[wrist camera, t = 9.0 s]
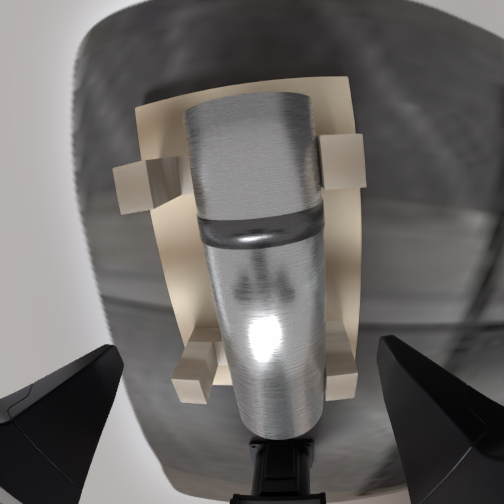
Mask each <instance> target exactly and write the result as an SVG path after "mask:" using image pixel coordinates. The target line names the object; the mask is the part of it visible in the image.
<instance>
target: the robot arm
mask: <svg viewBox="0 0 504 504" xmlns="http://www.w3.org/2000/svg"><path fill="white" fill-rule="evenodd" d="M377 365H378V370H379V375H380V380H381V385H382V391H383V396H384V401H385V405H386V408H387V412H388V415H389V418H390V422H391V425H392V429H393V432H394V436H395V439H396V443H397V446H398V450H399V454H400V458H401V462H402V466H403V470H404V474H405V478H406V482H407V487H408V491H409V495H410V500H411V504H504V406H502V405H500V404H498V403H497V402H495V401H493V400H491V399H489V398H488V397H486V396H485V395H483V394H481V393H480V392H478V391H477V390H475V389H474V388H472V387H471V386H469V385H467V384H466V383H465V382H463V381H462V380H460V379H459V378H457V377H456V376H454V375H453V374H451V373H450V372H448V371H447V370H445V369H444V368H442V367H441V366H439V365H438V364H436V363H435V362H433V361H432V360H430V359H429V358H427V357H426V356H424V355H423V354H421V353H420V352H418V351H417V350H415V349H414V348H412V347H411V346H409V345H408V344H406V343H405V342H403V341H402V340H400V339H399V338H397V337H396V336H394V335H385V336H381V337H380V340H379V346H378V352H377ZM123 368H124V364H123V361H122V358H121V356H120V354H119V352H118V350H117V348H116V346H114V345H109V344H105V345H103V346H101V347H99V348H97V349H95V350H94V351H92V352H90V353H88V354H86V355H84V356H83V357H81V358H79V359H77V360H75V361H73V362H71V363H70V364H68V365H66V366H64V367H62V368H60V369H58V370H57V371H55V372H53V373H51V374H49V375H47V376H45V377H44V378H42V379H40V380H38V381H36V382H35V383H34V384H33V383H32V384H30V385H28V386H27V387H25V388H23V389H21V390H19V391H17V392H15V393H12V394H10V395H8V396H6V397H4V398H1V399H0V504H78V503H79V500H80V497H81V493H82V489H83V486H84V483H85V480H86V477H87V474H88V471H89V468H90V465H91V462H92V459H93V456H94V453H95V450H96V447H97V445H98V442H99V439H100V436H101V434H102V431H103V428H104V426H105V423H106V420H107V418H108V415H109V413H110V410H111V407H112V405H113V402H114V399H115V396H116V392H117V389H118V385H119V382H120V378H121V375H122V372H123ZM249 449H250V452H251V456H252V459H253V463H254V466H255V468H254V477H253V485H252V493H251V495H240V494H234V495H233V498H232V499H230V504H326V496H325V492H322V493H319V494H310V468H312V462H313V449H314V441H313V440H296V441H253V442H250V443H249Z"/></svg>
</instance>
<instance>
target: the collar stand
mask: <svg viewBox="0 0 504 504" xmlns="http://www.w3.org/2000/svg"><path fill="white" fill-rule="evenodd" d="M256 92H293V93H300V94H304V95H307V96H310V97H311V99H312V106H313V114H314V121H315V130H316V138H317V147H318V157H319V167H320V178H321V190H322V198H323V200H324V216H325V227H324V239H325V265H326V356H325V382H324V392H325V400H326V401H332V400H340V399H348V398H354V396H355V390H356V384H357V377H358V371H357V367H356V363H355V355H356V345H357V334H358V322H359V308H360V288H361V198H360V188H364V187H366V172H365V158H364V146H363V136H362V134H356V132H355V123H354V115H353V107H352V100H351V93H350V87H349V81H348V77H345V76H339V77H305V78H290V79H278V80H268V81H259V82H251V83H244V84H237V85H231V86H225V87H219V88H214V89H208V90H203V91H199V92H194V93H189V94H185V95H181V96H176V97H172V98H168V99H165V100H161V101H157V102H153V103H150V104H146V105H143V106H140V107H136V108H135V113H136V122H137V130H138V138H139V146H140V153H141V160H142V161H139V162H135V163H131V164H127V165H123V166H119V167H115V168H113V174H114V180H115V186H116V191H117V197H118V202H119V207H120V212H121V215H122V214H128V213H134V212H140V211H146V210H150V212H151V217H152V222H153V227H154V231H155V236H156V241H157V245H158V250H159V254H160V258H161V263H162V267H163V271H164V275H165V279H166V283H167V287H168V290H169V294H170V298H171V302H172V305H173V309H174V313H175V316H176V320H177V323H178V326H179V330H180V333H181V336H182V340H183V343H184V346H185V349H184V352H183V354H182V356H181V358H180V360H179V363H178V365H177V367H176V369H175V371H174V374H173V376H172V378H171V380H172V382H173V385H174V387H175V389H176V392H177V394H178V396H179V399H180V401H181V402H184V403H198V404H207V402H208V399H209V395H210V392H211V388H212V385H233V384H232V380H231V376H230V372H229V368H228V363H227V359H226V355H225V350H224V346H223V342H222V337H221V333H220V328H219V324H218V319H217V314H216V310H215V305H214V300H213V295H212V290H211V285H210V280H209V275H208V270H207V265H206V259H205V254H204V249H203V243H202V241H201V239H200V234H199V228H198V222H197V216H196V214H197V209H196V203H195V197H194V190H193V184H192V177H191V171H190V164H189V157H188V150H187V143H186V135H185V128H184V120H183V112H184V111H185V110H187V109H189V108H191V107H193V106H195V105H197V104H200V103H203V102H206V101H210V100H213V99H218V98H222V97H227V96H232V95H238V94H246V93H256Z"/></svg>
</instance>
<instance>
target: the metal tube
mask: <svg viewBox="0 0 504 504" xmlns="http://www.w3.org/2000/svg"><path fill="white" fill-rule="evenodd" d="M183 120H184V128H185V135H186V143H187V150H188V157H189V164H190V171H191V177H192V184H193V190H194V197H195V203H196V209H197V214H196V216H197V222H198V228H199V234H200V239H201V241H202V243H203V249H204V254H205V259H206V265H207V270H208V275H209V280H210V285H211V290H212V295H213V300H214V305H215V310H216V314H217V319H218V324H219V328H220V333H221V337H222V342H223V346H224V350H225V355H226V359H227V363H228V368H229V372H230V376H231V380H232V384H233V388H234V392H235V396H236V400H237V404H238V408H239V412H240V415H241V419H242V421H243V423H244V425H245V426H246V427H247V428H248V429H249V430H250V431H251V432H253V433H254V434H256V435H258V436H260V437H263V438H267V439H274V440H284V439H290V438H294V437H297V436H300V435H302V434H304V433H306V432H307V431H309V430H310V429H311V428H313V427H314V426H315V425H316V423H317V422H318V421H319V419H320V417H321V415H322V411H323V400H324V382H325V356H326V265H325V239H324V227H325V216H324V200H323V198H322V190H321V178H320V167H319V157H318V147H317V138H316V130H315V121H314V114H313V106H312V99H311V97H310V96H307V95H304V94H300V93H293V92H256V93H246V94H238V95H232V96H227V97H222V98H218V99H213V100H210V101H206V102H203V103H200V104H197V105H195V106H193V107H191V108H189V109H187V110H185V111H184V112H183Z"/></svg>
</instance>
